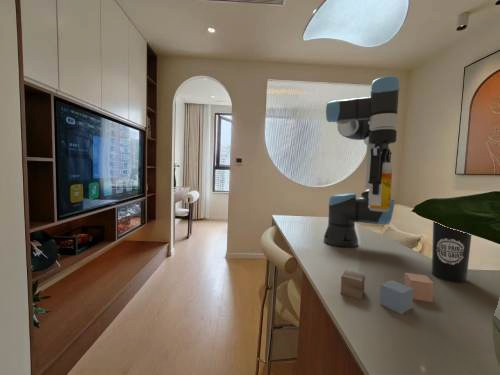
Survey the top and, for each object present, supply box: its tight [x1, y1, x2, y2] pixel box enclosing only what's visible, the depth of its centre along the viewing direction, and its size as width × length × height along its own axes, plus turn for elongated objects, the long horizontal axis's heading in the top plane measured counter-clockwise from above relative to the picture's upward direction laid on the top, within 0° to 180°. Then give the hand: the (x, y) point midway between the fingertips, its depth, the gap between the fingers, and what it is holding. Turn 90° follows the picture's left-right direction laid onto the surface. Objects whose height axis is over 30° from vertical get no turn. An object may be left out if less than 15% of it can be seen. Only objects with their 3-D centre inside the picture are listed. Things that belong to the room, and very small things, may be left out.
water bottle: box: [431, 221, 472, 284], centre depth 75 cm, size 10×10×23 cm
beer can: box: [368, 162, 393, 212], centre depth 74 cm, size 6×6×15 cm
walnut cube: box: [340, 269, 366, 300], centre depth 64 cm, size 5×5×5 cm
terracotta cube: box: [403, 272, 435, 303], centre depth 63 cm, size 5×5×5 cm
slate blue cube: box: [379, 279, 414, 315], centre depth 58 cm, size 5×5×5 cm
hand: (378, 204), depth 74 cm, fingers closed on beer can, 6 cm apart
